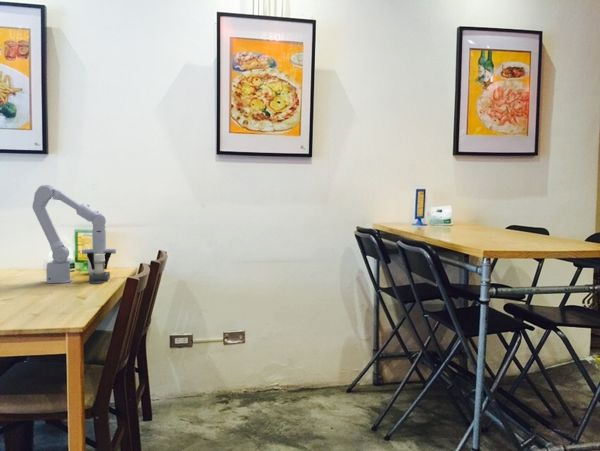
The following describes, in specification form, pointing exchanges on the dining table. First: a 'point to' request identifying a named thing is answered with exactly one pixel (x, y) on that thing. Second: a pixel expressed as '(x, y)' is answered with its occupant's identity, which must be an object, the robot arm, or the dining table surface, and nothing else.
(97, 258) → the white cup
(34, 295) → the dining table surface
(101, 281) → the mat
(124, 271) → the dining table surface
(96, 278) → the housing
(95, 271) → the end cover
